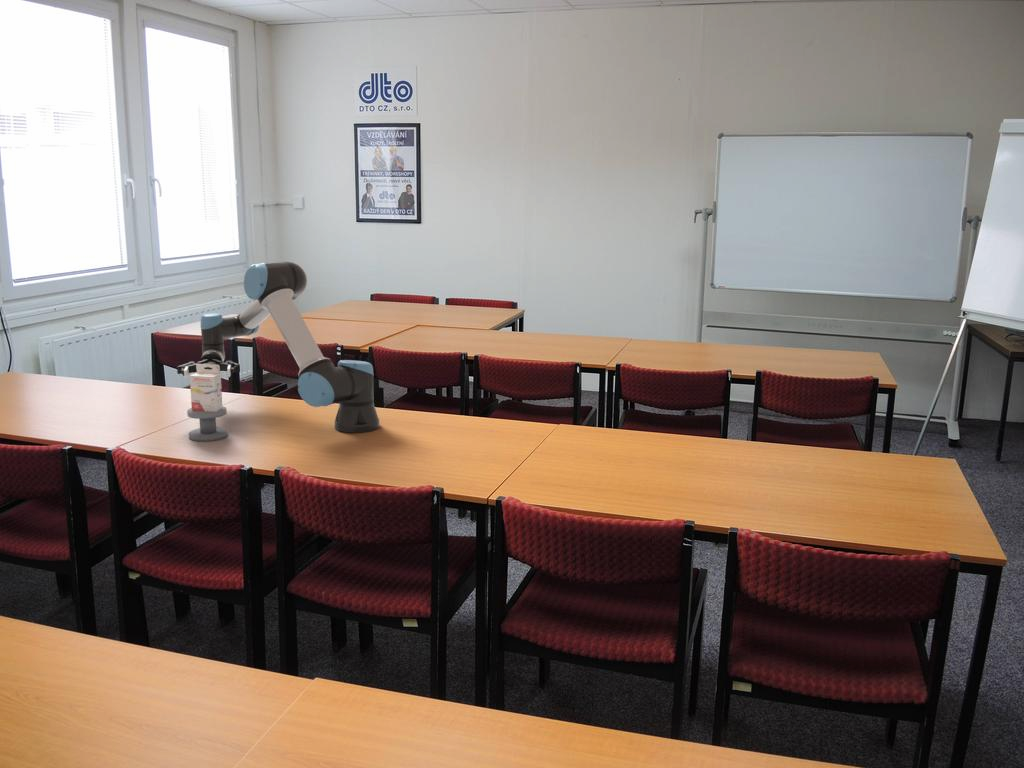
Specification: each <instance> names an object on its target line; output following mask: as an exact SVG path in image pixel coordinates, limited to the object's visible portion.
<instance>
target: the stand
mask: <svg viewBox="0 0 1024 768" xmlns="http://www.w3.org/2000/svg"><path fill="white" fill-rule="evenodd" d="M227 413H228V411H227V407H226V406H224V405H222V409H220V410H218V411H217V412H211V411H194V410H192V407H191V408H188V409H187V413H186V414H187V417H188V418H190V419H197V420H199V428H195V429H193V430H190V431H189V432H188V439H190V440H191V441H194V442H214V441H220V440H223V439H226V438H228V436H229V431H228V429H227V428H225V427H221V426H217V418H220V417H224V416H225V415H227Z"/></svg>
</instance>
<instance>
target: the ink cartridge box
mask: <svg viewBox="0 0 1024 768" xmlns="http://www.w3.org/2000/svg"><path fill="white" fill-rule="evenodd" d="M195 364H196V369H197V371H196V372H194V373H192V374H190V375H189V381H190V382H189V383H190V385H189V386H190V400H191V401H190V402H191V404H190V405H191V408H192V410H194V411H211V412H217V411H218V410H220V409H222V406H223V392H222V391H223V389H222V374H221V371H220V366H219V365H213V364H197V363H195ZM206 367H209V368H212V370H208V369H204V368H206Z"/></svg>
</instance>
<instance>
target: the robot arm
mask: <svg viewBox="0 0 1024 768" xmlns="http://www.w3.org/2000/svg"><path fill="white" fill-rule="evenodd" d="M307 279H308V278H307V274H306V272H305V271H304V269H303V267H301V266H300V265H299V264H296V263H295V262H293V261H282V262H280V261H279V262H270V263H269V262H267V263H264V262H260V263H255V264H254V263H253V264H252V265H250V266H249V267H247V269H246V271H245V272H244V277H243V289H244V292H245V294H246V296H247V297H248V298H249V299H251V300H253V302H252V303H250V304H249V305H248V306H247V307H246V308H245V309H244V310H243V311H242V312H240V313H238V314H237V315H236V316H231V317H230V316H229V317H223V315H222V314H220V313H205V314H202V315H201V316H200V331H201V332H200V333H201V347H202V348H201V349H202V355H201V358H200V359H199V361H196V363H195V361H193V360H191V361H189V362H187V363H184V364H183V363H182V364H181V365H177V366H176V369H177V370H176V372H177V374H178V375H182V377H183V378H184V379H188V377H189V376H190V375H189V374H191V373H192V374H193V373H197V369H196V364H213V365H219V366H220V372H227V377H228V378H230V377H231V374H233V373H235V372H237V373H239V372H241V364H239V363H237V362H234V361H232V360H230V359H229V360H226V361H225V359H226V352H225V341H224V340H225V339H230V338H237V337H238V338H239V337H244V336H245V337H248V336H251V335H255V334H256V333H258V329H260V324H261V323H263V322H264V321H266V319H268V318H269V317H270V316H271V317H272V319H273V321H274V323H275V325H276V327H277V329H278V330H279V332H280V334H281V336H282V338H283V340H284V341H285V343H286V345H287V347H288V349H289V350H290V352H291V355H292V356H293V358H294V360H295V362H296V364H297V365H298V368H299V371H298V374H297V375H298V376H297V377H298V379H297V391H298V394H299V396H300V397H301V399H302V401H304V402H305V404H307V405H309V406H311V407H315V408H319V407H328V406H330V405H333V404H337V403H339V405H338V408H337V413H336V416H335V420H334V429H335V430H337V431H338V432H339V431H340V432H343V433H366V432H372V431H375V430H377V429H379V428H380V418H379V417H378V416H379V415H378V413H377V410H376V408H375V407H376V406H375V399H374V398H375V396H374V395H375V392H374V391H375V390H374V383H375V380H374V378H375V377H374V376H375V374H374V366H373V364H372V363H370V362H368V361H364V360H363V361H362V360H352V359H341V360H339V361H338V362H337V366H336V367H335V365H334V363H333V362H332V360H331V358H329V357H325V356H324V354H323V353H322V351H321V349H320V347H319V346H318V343H317V341H316V340H315V338H314V337H313V335H312V333H311V331H310V330H309V327H308V325H307V323H306V322H305V320H304V318H303V316H302V314H301V313H300V310H299V309H298V307H297V304H296V303H295V302H294V300H296V299H297V298H298V297H299V296H300V295H302V293H303V292H304V291H305V290H306V287H307V283H308V280H307ZM224 361H225V362H224ZM204 369H208V370H212V368H209V367H206V368H204Z"/></svg>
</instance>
